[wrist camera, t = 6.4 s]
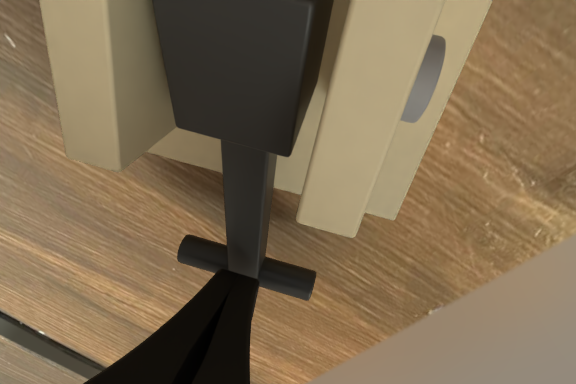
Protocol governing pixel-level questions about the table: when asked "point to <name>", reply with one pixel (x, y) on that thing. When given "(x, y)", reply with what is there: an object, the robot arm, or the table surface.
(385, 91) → the bracket
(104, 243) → the table surface
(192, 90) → the lever
